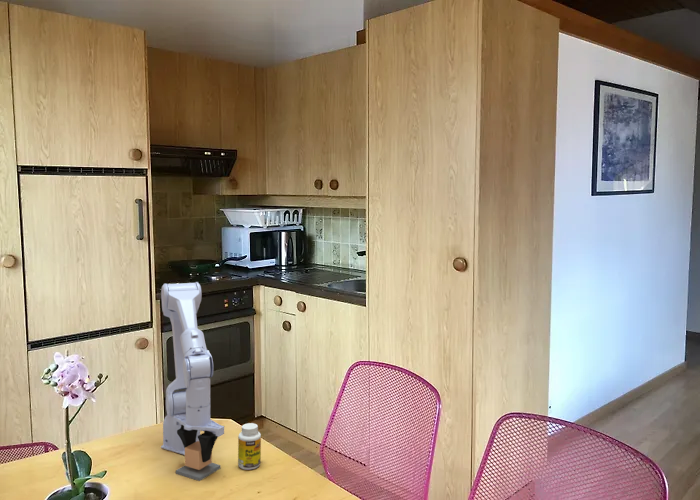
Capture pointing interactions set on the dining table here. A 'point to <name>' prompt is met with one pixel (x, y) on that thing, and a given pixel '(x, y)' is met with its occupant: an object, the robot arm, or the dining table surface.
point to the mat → (198, 471)
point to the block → (195, 456)
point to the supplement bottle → (249, 447)
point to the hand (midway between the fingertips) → (198, 458)
